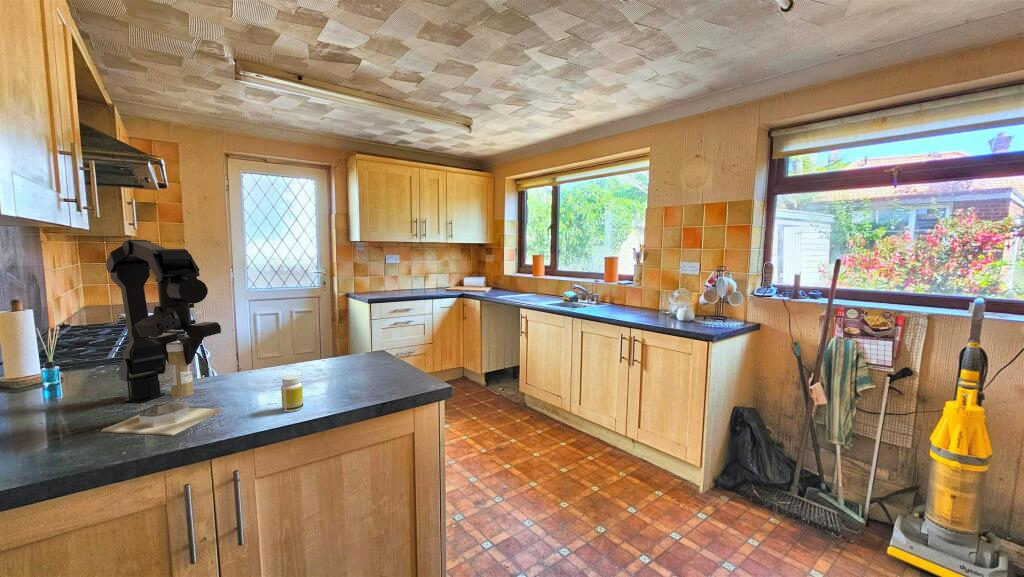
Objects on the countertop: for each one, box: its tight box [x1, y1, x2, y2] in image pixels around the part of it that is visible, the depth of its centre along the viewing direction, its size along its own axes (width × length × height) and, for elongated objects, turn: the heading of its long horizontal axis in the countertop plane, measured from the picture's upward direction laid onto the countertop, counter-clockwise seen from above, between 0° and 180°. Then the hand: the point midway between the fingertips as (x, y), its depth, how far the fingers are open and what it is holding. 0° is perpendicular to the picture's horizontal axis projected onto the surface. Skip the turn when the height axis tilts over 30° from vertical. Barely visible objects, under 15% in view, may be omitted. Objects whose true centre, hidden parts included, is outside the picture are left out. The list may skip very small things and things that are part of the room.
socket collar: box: [138, 401, 190, 427], centre depth 101 cm, size 9×9×2 cm
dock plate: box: [100, 407, 224, 436], centre depth 101 cm, size 18×14×1 cm
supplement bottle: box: [280, 374, 304, 413], centre depth 107 cm, size 5×5×8 cm
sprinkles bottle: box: [166, 340, 195, 399], centre depth 103 cm, size 5×5×13 cm
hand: (179, 363), depth 103 cm, fingers closed on sprinkles bottle, 4 cm apart
